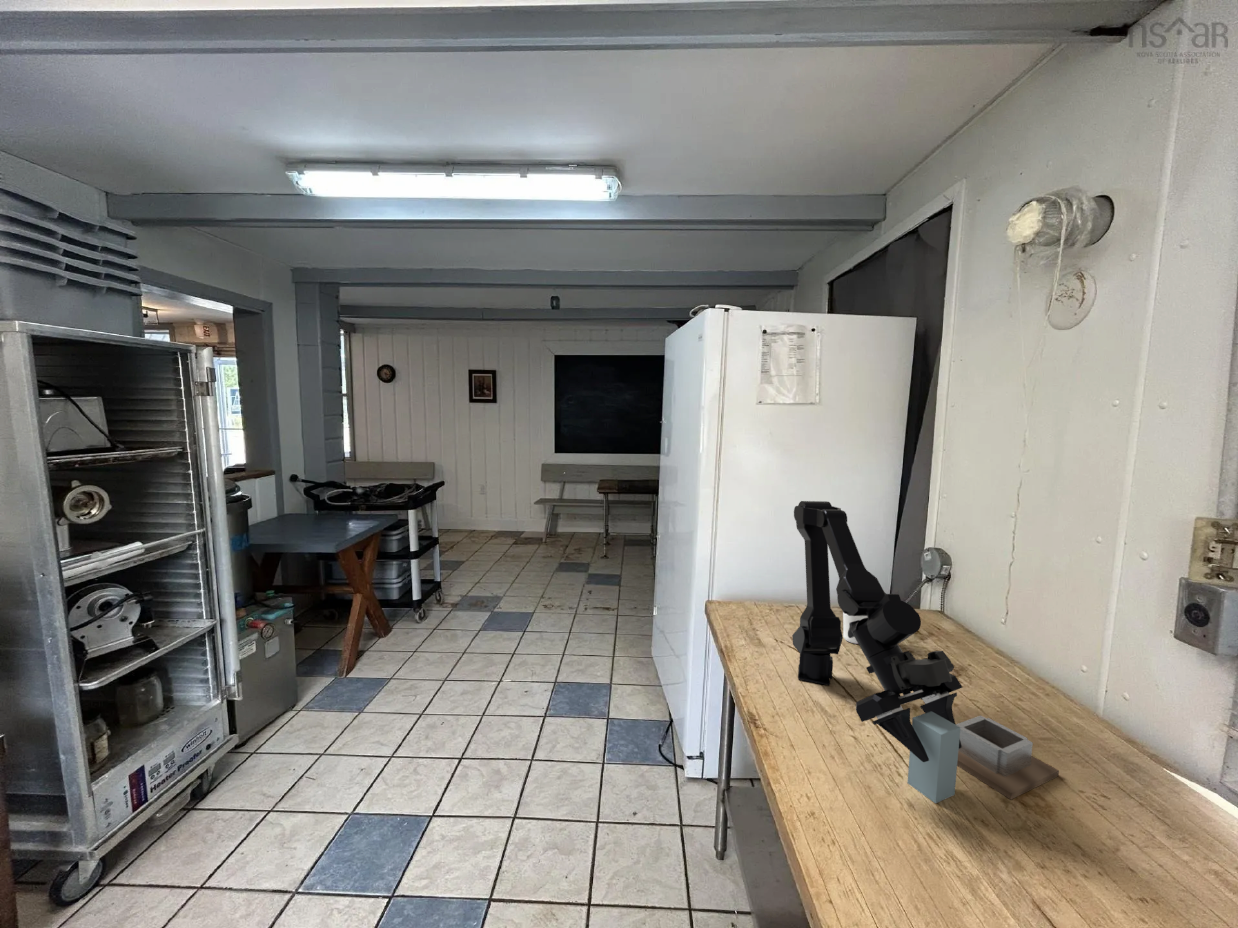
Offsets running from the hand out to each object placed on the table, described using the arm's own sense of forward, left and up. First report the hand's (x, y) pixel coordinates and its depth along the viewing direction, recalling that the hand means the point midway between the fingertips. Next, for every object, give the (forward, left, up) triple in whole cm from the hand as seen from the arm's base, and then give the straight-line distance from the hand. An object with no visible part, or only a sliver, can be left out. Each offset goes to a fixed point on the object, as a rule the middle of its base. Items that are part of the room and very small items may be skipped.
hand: (942, 754), depth 75 cm
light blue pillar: (-1, +1, -7) cm, 7 cm away
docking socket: (+10, +12, -7) cm, 17 cm away
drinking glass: (-8, +54, -7) cm, 55 cm away
